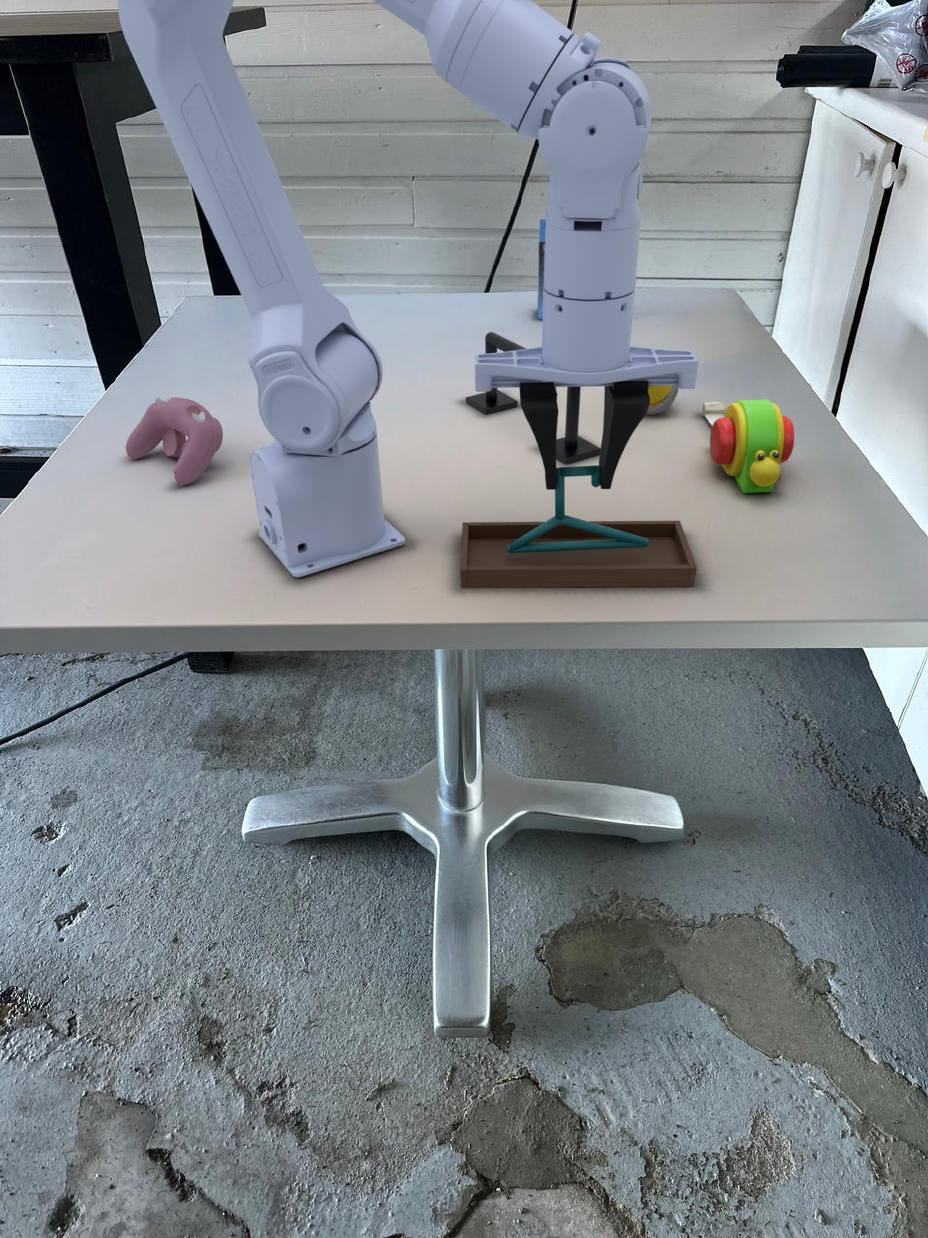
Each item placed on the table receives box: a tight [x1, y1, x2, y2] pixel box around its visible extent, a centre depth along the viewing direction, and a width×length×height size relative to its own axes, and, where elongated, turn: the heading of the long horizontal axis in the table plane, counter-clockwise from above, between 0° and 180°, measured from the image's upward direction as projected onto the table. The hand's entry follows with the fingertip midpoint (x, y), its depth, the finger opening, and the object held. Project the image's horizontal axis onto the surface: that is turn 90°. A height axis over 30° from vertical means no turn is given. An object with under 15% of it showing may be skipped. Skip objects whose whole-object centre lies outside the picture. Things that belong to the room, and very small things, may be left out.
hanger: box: [506, 464, 649, 553], centre depth 65 cm, size 11×1×7 cm, turn 89°
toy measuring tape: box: [701, 398, 795, 494], centre depth 80 cm, size 6×20×7 cm, turn 0°
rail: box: [465, 331, 601, 465], centre depth 87 cm, size 4×18×8 cm, turn 31°
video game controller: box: [125, 396, 224, 486], centre depth 82 cm, size 10×5×7 cm, turn 47°
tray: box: [459, 520, 698, 589], centre depth 67 cm, size 17×7×2 cm, turn 89°
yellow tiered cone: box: [645, 385, 680, 416], centre depth 89 cm, size 5×5×10 cm
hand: (577, 483), depth 64 cm, fingers closed on hanger, 3 cm apart
